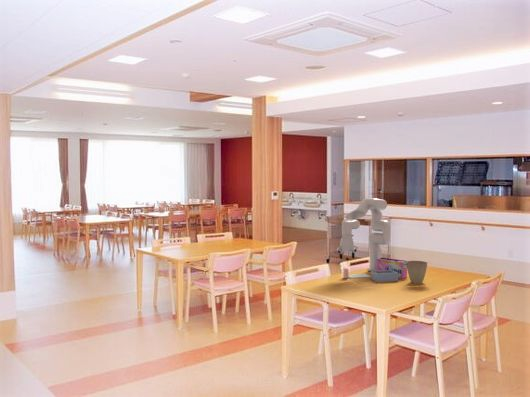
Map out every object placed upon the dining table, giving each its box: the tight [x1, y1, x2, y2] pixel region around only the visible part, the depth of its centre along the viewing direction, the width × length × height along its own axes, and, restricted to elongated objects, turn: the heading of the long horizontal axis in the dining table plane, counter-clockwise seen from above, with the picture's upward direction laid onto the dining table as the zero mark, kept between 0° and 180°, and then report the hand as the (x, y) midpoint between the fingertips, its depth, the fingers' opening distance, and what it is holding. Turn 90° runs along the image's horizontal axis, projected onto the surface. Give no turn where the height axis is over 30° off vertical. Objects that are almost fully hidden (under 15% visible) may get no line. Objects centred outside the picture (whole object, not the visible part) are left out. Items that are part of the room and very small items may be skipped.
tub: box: [370, 270, 399, 283], centre depth 381 cm, size 11×17×7 cm, turn 103°
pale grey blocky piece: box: [342, 267, 371, 280], centre depth 393 cm, size 11×20×8 cm, turn 103°
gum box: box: [377, 257, 408, 279], centre depth 397 cm, size 24×8×14 cm, turn 48°
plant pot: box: [406, 260, 428, 285], centre depth 372 cm, size 15×15×16 cm
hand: (347, 258), depth 391 cm, fingers open, 9 cm apart
